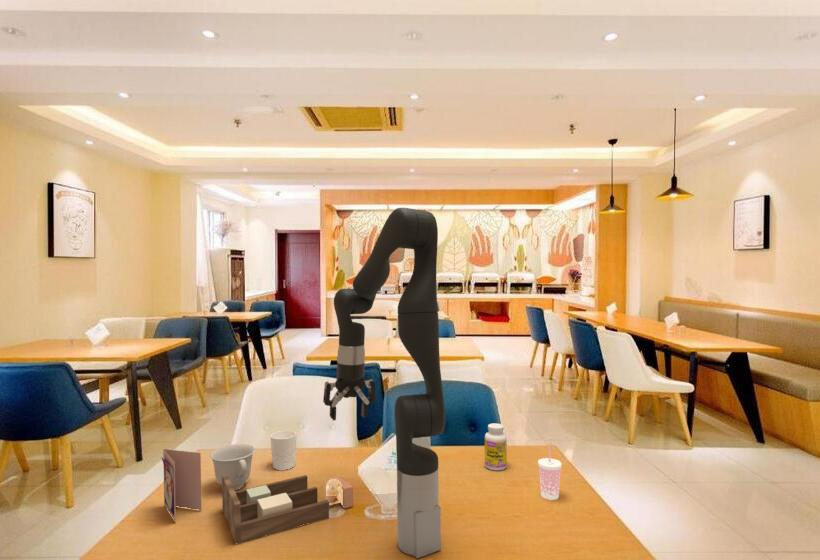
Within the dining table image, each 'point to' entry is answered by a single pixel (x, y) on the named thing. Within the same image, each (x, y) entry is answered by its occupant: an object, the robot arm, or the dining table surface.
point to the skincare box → (422, 442)
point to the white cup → (283, 449)
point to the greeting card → (181, 480)
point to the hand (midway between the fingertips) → (348, 418)
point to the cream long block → (284, 502)
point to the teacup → (233, 463)
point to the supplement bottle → (495, 447)
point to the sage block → (257, 493)
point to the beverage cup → (549, 477)
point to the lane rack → (251, 527)
